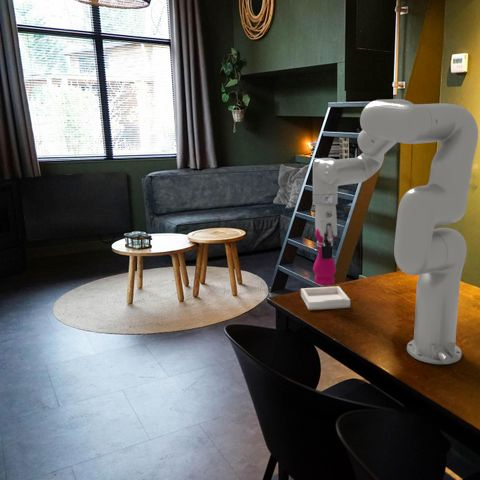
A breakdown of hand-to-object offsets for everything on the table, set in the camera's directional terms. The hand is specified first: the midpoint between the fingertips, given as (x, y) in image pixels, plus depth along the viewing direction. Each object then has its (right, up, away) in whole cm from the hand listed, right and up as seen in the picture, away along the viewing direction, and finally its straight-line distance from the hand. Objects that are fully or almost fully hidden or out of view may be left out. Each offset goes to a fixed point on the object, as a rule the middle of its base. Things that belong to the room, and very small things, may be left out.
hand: (324, 255), depth 155 cm
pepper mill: (0, -9, +2) cm, 9 cm away
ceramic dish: (+1, -15, +4) cm, 16 cm away
